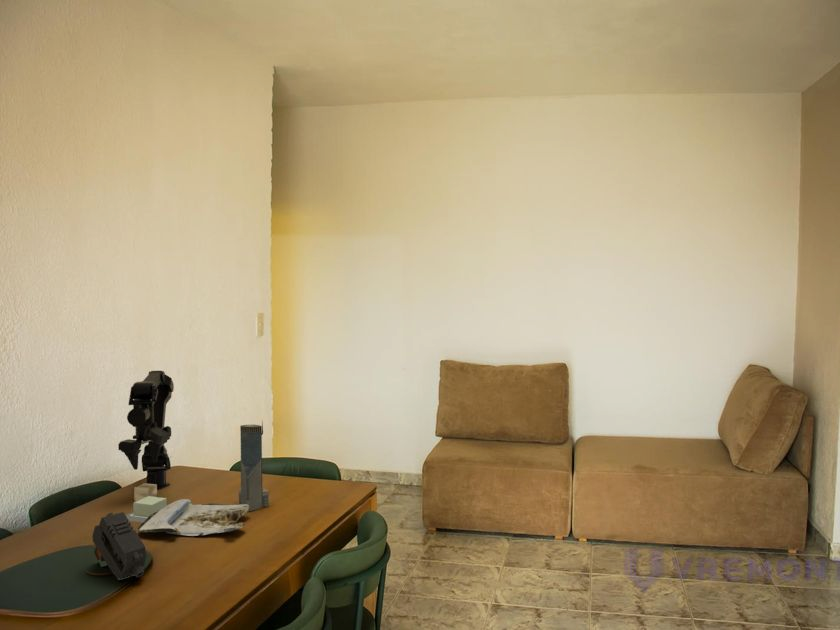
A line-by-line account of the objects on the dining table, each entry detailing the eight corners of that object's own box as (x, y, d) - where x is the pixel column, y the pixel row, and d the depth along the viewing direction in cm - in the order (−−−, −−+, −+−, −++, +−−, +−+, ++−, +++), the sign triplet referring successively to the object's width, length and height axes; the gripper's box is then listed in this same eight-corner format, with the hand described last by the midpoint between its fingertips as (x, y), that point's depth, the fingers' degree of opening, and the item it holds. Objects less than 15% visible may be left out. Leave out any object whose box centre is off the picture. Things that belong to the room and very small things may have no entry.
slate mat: (152, 504, 230) (151, 502, 230) (182, 508, 226) (182, 506, 226) (116, 520, 215) (116, 518, 215) (148, 524, 211) (148, 523, 211)
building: (271, 503, 231) (270, 414, 230) (262, 512, 222) (262, 419, 221) (241, 502, 232) (240, 413, 231) (231, 511, 223) (230, 418, 222)
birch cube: (144, 497, 238) (144, 483, 237) (157, 499, 236) (156, 484, 236) (134, 502, 233) (134, 487, 233) (146, 503, 231) (146, 488, 231)
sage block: (148, 508, 225) (148, 496, 225) (166, 510, 223) (166, 498, 222) (133, 515, 218) (133, 502, 218) (151, 517, 216) (151, 504, 216)
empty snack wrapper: (238, 545, 198) (238, 527, 197) (132, 544, 197) (132, 526, 197) (256, 513, 222) (256, 497, 221) (161, 511, 221) (161, 496, 220)
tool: (108, 546, 186) (121, 504, 181) (141, 600, 176) (156, 556, 170) (85, 553, 181) (98, 510, 176) (117, 608, 171) (132, 564, 166)
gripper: (145, 427, 222) (145, 475, 222) (182, 416, 239) (183, 461, 240) (116, 424, 225) (117, 472, 226) (155, 414, 243) (156, 458, 244)
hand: (145, 465), depth 234 cm, fingers open, 9 cm apart
